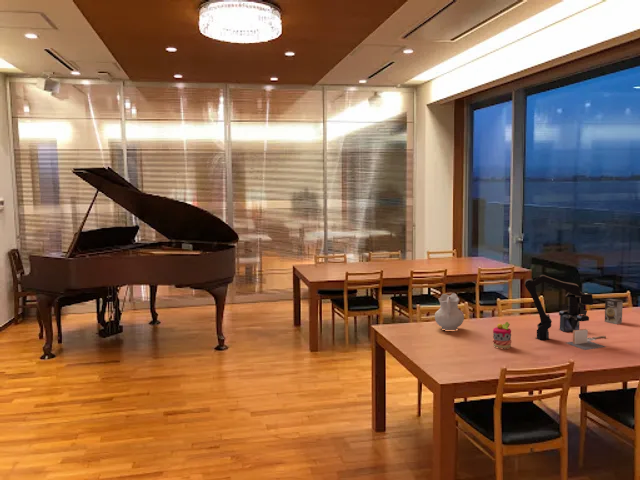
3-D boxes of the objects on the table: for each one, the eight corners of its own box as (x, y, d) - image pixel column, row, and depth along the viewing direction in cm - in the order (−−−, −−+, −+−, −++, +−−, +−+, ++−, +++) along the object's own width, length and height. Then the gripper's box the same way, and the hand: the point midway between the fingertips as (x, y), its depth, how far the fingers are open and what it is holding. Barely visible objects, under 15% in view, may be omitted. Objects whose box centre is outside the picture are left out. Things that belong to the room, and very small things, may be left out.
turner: (588, 341, 325) (588, 339, 325) (582, 339, 330) (582, 337, 330) (608, 339, 330) (608, 337, 330) (601, 336, 335) (601, 335, 334)
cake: (499, 350, 314) (499, 325, 312) (489, 345, 324) (489, 321, 323) (515, 348, 317) (515, 323, 315) (504, 343, 327) (504, 319, 325)
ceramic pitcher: (467, 335, 351) (469, 298, 348) (437, 334, 351) (440, 296, 349) (459, 327, 372) (461, 292, 370) (431, 325, 372) (433, 290, 370)
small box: (564, 332, 348) (564, 316, 347) (559, 329, 354) (559, 314, 353) (579, 331, 348) (580, 315, 347) (574, 329, 354) (575, 313, 353)
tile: (575, 344, 319) (575, 331, 318) (572, 343, 321) (573, 330, 320) (587, 342, 322) (587, 329, 321) (584, 341, 324) (585, 328, 323)
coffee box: (604, 321, 371) (604, 298, 370) (610, 320, 374) (610, 297, 372) (616, 324, 363) (616, 301, 361) (622, 323, 365) (623, 300, 364)
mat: (584, 350, 308) (584, 350, 308) (564, 343, 323) (564, 342, 323) (606, 347, 313) (606, 346, 312) (585, 340, 328) (585, 339, 328)
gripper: (596, 306, 318) (596, 331, 320) (572, 300, 336) (572, 324, 337) (581, 307, 315) (581, 333, 316) (558, 302, 333) (558, 326, 334)
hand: (573, 329), depth 326 cm, fingers closed
